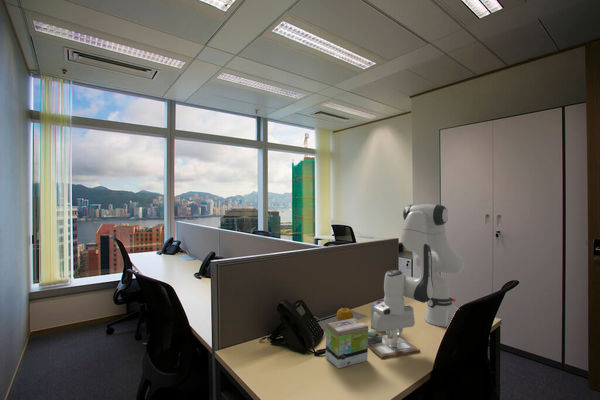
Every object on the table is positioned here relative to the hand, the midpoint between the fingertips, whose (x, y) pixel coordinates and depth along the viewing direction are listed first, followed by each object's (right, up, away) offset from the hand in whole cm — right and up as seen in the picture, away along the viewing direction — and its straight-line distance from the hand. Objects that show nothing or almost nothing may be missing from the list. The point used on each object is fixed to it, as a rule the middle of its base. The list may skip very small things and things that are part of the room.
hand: (393, 338), depth 129 cm
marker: (0, -4, 0) cm, 4 cm away
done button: (-8, -3, +7) cm, 11 cm away
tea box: (-23, -5, -8) cm, 25 cm away
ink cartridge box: (+1, -6, +23) cm, 24 cm away
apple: (-18, -6, +27) cm, 33 cm away
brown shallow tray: (-1, -5, +4) cm, 7 cm away
